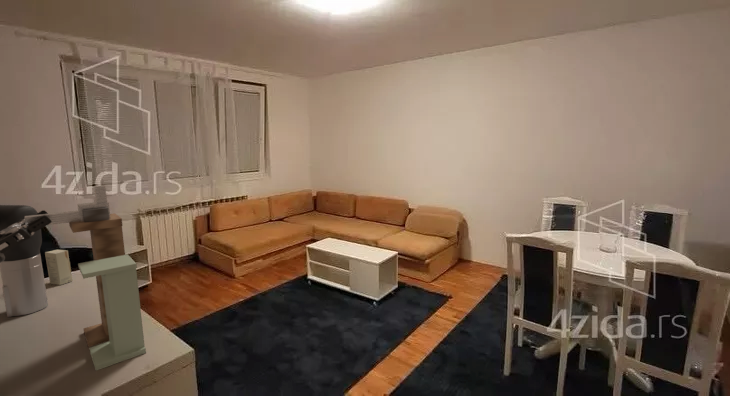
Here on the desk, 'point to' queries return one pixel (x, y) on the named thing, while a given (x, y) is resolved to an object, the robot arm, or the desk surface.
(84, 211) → the wooden pedestal post
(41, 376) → the desk surface
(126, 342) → the green flanged bracket
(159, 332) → the desk surface
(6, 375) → the desk surface
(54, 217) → the grey stepped block
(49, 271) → the skincare box
